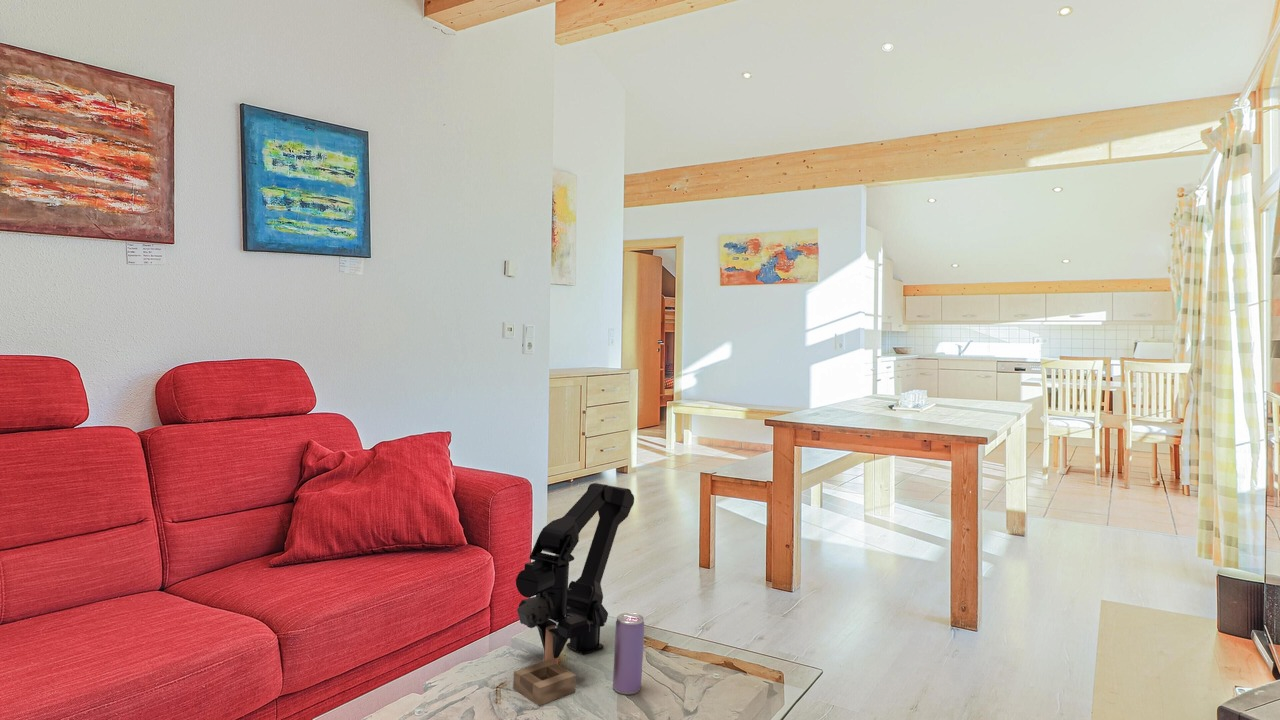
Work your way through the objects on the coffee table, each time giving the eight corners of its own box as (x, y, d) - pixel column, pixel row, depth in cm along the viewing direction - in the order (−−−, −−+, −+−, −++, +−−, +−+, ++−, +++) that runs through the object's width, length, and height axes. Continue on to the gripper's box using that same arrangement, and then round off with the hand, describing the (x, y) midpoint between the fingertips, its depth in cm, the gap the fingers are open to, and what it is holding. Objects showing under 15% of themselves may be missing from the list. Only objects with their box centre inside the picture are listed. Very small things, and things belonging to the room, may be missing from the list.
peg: (552, 664, 161) (554, 624, 161) (560, 669, 159) (562, 628, 158) (541, 668, 159) (543, 627, 158) (549, 673, 156) (551, 631, 156)
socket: (548, 676, 155) (549, 659, 155) (574, 692, 149) (575, 675, 149) (513, 688, 149) (513, 671, 149) (539, 705, 142) (539, 688, 142)
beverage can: (637, 697, 148) (641, 624, 147) (609, 693, 149) (613, 621, 149) (643, 684, 154) (647, 614, 153) (616, 680, 155) (619, 610, 154)
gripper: (499, 579, 159) (496, 650, 160) (551, 605, 146) (547, 681, 146) (541, 570, 167) (537, 637, 167) (593, 593, 154) (589, 666, 154)
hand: (551, 655), depth 159 cm, fingers closed on peg, 3 cm apart
